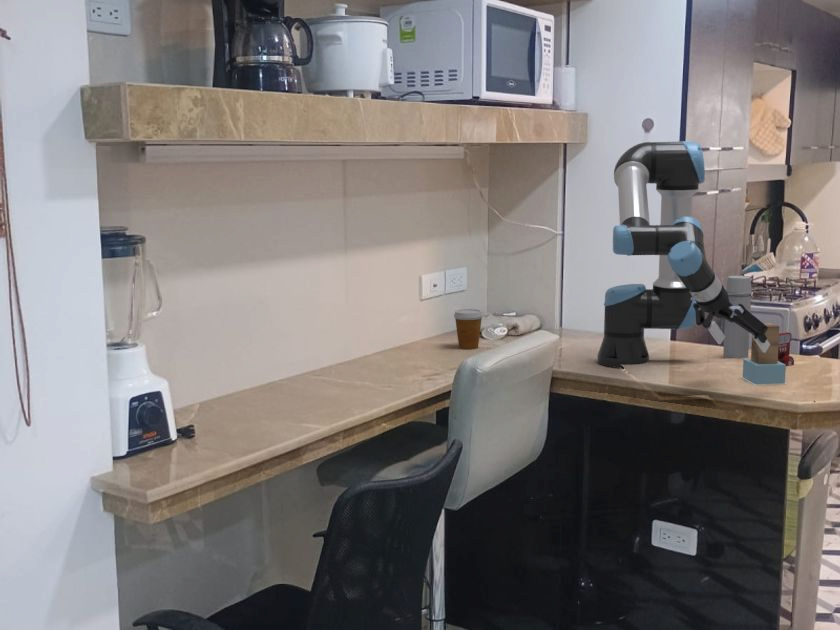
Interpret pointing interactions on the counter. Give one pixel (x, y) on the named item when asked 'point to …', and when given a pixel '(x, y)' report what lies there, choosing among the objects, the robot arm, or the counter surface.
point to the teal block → (764, 372)
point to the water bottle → (734, 334)
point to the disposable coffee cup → (468, 327)
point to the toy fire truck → (785, 349)
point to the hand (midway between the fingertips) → (743, 344)
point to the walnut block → (772, 351)
